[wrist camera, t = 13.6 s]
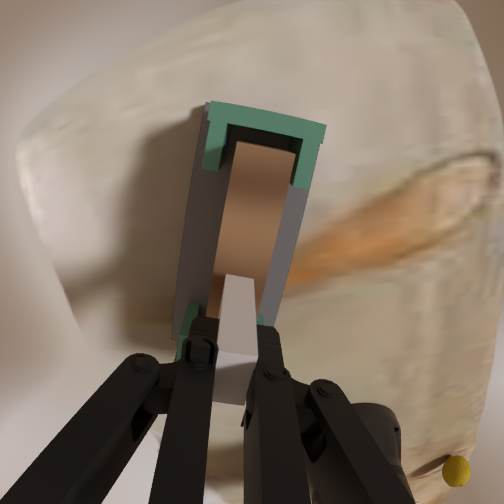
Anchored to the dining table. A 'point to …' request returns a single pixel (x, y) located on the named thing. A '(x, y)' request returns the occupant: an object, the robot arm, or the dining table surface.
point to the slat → (250, 218)
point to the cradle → (214, 196)
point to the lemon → (456, 471)
